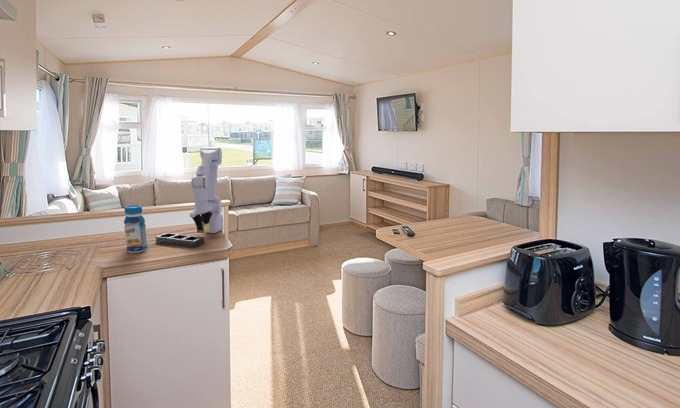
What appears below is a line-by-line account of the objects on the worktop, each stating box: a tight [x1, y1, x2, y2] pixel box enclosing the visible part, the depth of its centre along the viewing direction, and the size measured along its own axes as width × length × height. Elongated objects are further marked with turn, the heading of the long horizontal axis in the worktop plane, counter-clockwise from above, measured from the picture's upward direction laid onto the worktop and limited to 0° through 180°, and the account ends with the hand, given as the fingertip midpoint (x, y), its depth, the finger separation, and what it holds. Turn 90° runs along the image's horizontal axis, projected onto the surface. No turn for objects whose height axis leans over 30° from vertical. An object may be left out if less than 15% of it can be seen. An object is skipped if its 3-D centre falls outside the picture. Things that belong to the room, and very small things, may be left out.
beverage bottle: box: [123, 204, 148, 254], centre depth 170 cm, size 8×8×20 cm
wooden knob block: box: [196, 222, 209, 234], centre depth 188 cm, size 4×4×4 cm
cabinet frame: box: [155, 232, 205, 249], centre depth 183 cm, size 7×22×3 cm, turn 71°
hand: (202, 228), depth 188 cm, fingers closed on wooden knob block, 4 cm apart
